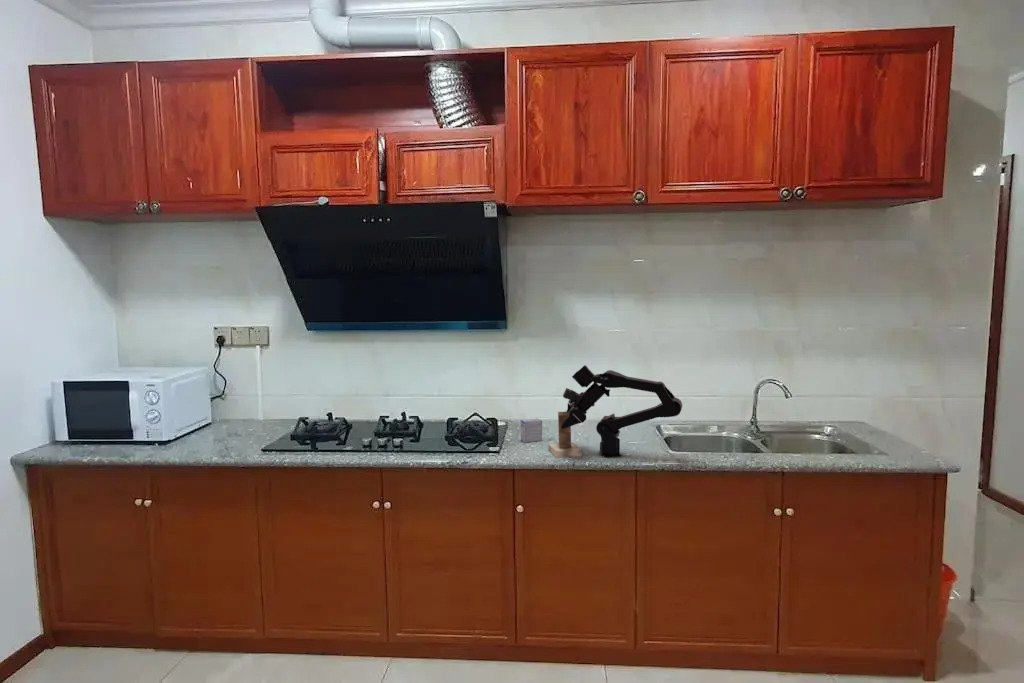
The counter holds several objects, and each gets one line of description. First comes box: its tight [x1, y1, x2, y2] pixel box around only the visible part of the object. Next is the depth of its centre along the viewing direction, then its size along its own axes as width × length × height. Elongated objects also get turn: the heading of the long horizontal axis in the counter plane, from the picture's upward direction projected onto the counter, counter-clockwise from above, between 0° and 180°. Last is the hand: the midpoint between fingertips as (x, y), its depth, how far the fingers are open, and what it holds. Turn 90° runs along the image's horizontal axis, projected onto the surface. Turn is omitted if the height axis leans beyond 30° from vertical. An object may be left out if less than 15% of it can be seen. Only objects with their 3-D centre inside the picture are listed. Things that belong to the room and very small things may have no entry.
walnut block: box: [557, 411, 572, 449], centre depth 227 cm, size 4×4×13 cm
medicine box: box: [520, 417, 543, 443], centre depth 246 cm, size 8×4×9 cm, turn 111°
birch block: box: [548, 442, 582, 459], centre depth 229 cm, size 10×10×3 cm
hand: (561, 425), depth 228 cm, fingers open, 9 cm apart
